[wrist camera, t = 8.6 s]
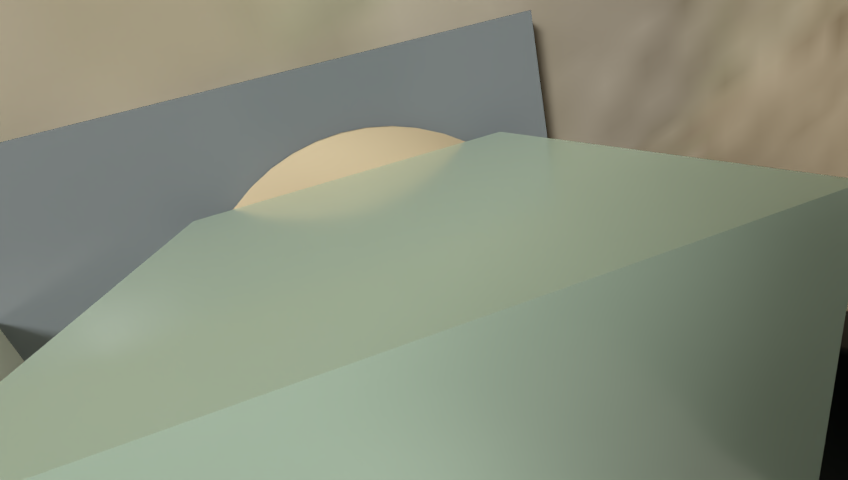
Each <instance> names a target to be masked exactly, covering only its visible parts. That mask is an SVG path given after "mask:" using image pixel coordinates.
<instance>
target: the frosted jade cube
mask: <svg viewBox="0 0 848 480" xmlns="http://www.w3.org/2000/svg"><path fill="white" fill-rule="evenodd" d="M847 303H848V178H843V177H836V176H828V175H821V174H813V173H806V172H798V171H791V170H783V169H776V168H768V167H761V166H753V165H746V164H738V163H731V162H723V161H716V160H708V159H701V158H694V157H686V156H679V155H671V154H664V153H656V152H649V151H641V150H634V149H626V148H619V147H611V146H604V145H596V144H589V143H581V142H574V141H566V140H559V139H551V138H544V137H536V136H529V135H521V134H514V133H506V132H497V133H494V134H490V135H487V136H483V137H480V138H476V139H473V140H470V141H466V142H463V143H459V144H456V145H452V146H449V147H446V148H442V149H439V150H435V151H432V152H428V153H425V154H422V155H418V156H415V157H411V158H408V159H405V160H401V161H398V162H394V163H391V164H387V165H384V166H381V167H377V168H374V169H370V170H367V171H363V172H360V173H357V174H353V175H350V176H346V177H343V178H339V179H336V180H333V181H329V182H326V183H322V184H319V185H316V186H312V187H309V188H305V189H302V190H298V191H295V192H292V193H288V194H285V195H281V196H278V197H274V198H271V199H268V200H264V201H261V202H257V203H254V204H250V205H247V206H244V207H240V208H237V209H233V210H230V211H227V212H223V213H220V214H216V215H213V216H209V217H206V218H203V219H199V220H196V221H193V222H192V223H190V224H189V225H188V226H187V227H186V228H184V229H183V230H182V231H181V232H180V233H178V234H177V235H176V236H175V237H174V238H172V239H171V240H170V241H169V242H168V243H166V244H165V245H164V246H163V247H162V248H160V249H159V250H158V251H157V252H156V253H154V254H153V255H152V256H151V257H150V258H148V259H147V260H146V261H145V262H144V263H142V264H141V265H140V266H139V267H138V268H136V269H135V270H134V271H133V272H132V273H130V274H129V275H128V276H127V277H126V278H124V279H123V280H122V281H121V282H120V283H118V284H117V285H116V286H115V287H113V288H112V289H111V290H110V291H109V292H107V293H106V294H105V295H104V296H103V297H101V298H100V299H99V300H98V301H97V302H95V303H94V304H93V305H92V306H91V307H89V308H88V309H87V310H86V311H85V312H83V313H82V314H81V315H80V316H79V317H77V318H76V319H75V320H74V321H73V322H71V323H70V324H69V325H68V326H67V327H65V328H64V329H63V330H62V331H61V332H59V333H58V334H57V335H56V336H55V337H53V338H52V339H51V340H50V341H49V342H47V343H46V344H45V345H44V346H43V347H41V348H40V349H39V350H38V351H37V352H35V353H34V354H33V355H32V356H31V357H29V358H28V359H27V360H26V361H25V362H23V363H22V364H21V365H20V366H19V367H17V368H16V369H15V370H14V371H13V372H11V373H10V374H9V375H8V376H6V377H5V378H4V379H3V380H2V381H0V480H819V476H820V470H821V464H822V458H823V451H824V445H825V439H826V433H827V427H828V420H829V414H830V408H831V402H832V396H833V390H834V383H835V377H836V371H837V365H838V359H839V352H840V346H841V340H842V334H843V328H844V321H845V315H846V309H847Z"/></svg>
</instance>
